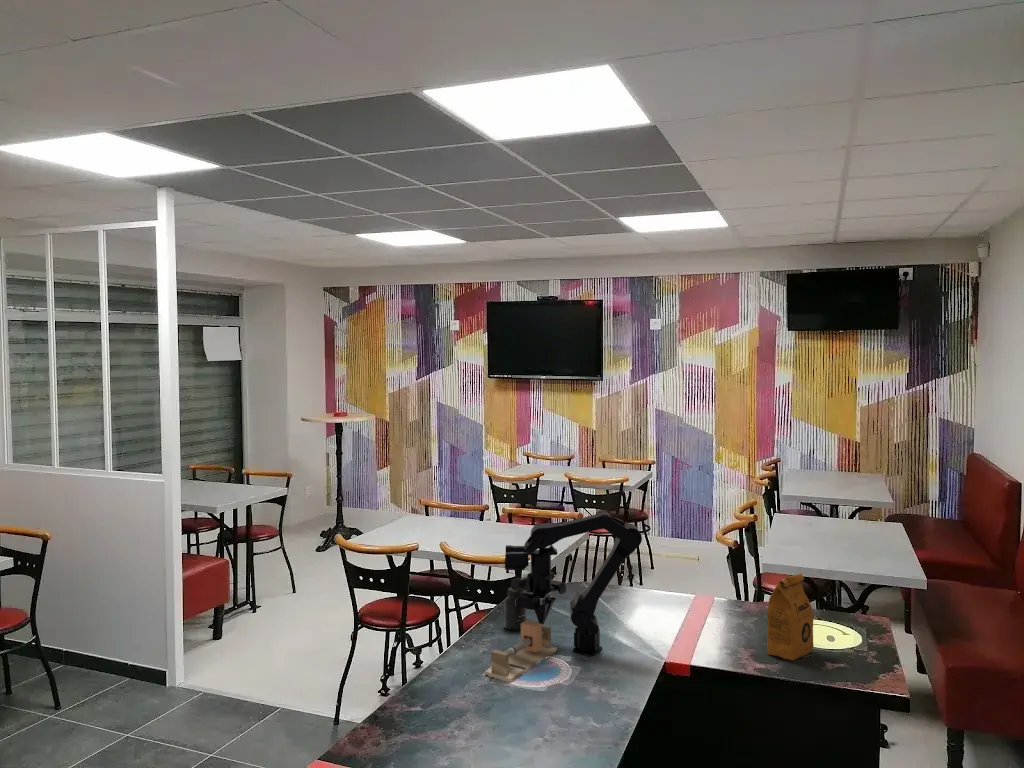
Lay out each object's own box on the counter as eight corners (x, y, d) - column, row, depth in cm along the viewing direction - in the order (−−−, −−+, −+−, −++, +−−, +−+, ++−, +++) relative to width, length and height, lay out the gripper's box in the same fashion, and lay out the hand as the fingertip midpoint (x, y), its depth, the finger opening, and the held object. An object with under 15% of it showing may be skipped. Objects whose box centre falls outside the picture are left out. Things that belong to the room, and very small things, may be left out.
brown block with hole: (526, 644, 206) (526, 620, 206) (541, 648, 204) (541, 623, 203) (520, 648, 204) (520, 623, 204) (535, 652, 201) (535, 626, 201)
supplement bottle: (524, 632, 222) (524, 593, 222) (502, 630, 224) (502, 591, 223) (528, 624, 229) (528, 586, 229) (507, 622, 230) (506, 585, 230)
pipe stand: (533, 645, 212) (533, 622, 212) (557, 651, 208) (557, 628, 208) (485, 675, 192) (484, 651, 192) (510, 682, 188) (510, 657, 188)
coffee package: (819, 654, 204) (820, 576, 203) (793, 665, 197) (793, 584, 196) (788, 643, 212) (788, 568, 211) (761, 653, 205) (761, 575, 204)
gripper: (534, 557, 220) (534, 609, 220) (498, 573, 204) (499, 628, 205) (566, 563, 214) (567, 616, 214) (532, 579, 198) (533, 636, 199)
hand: (541, 624), depth 208 cm, fingers closed
